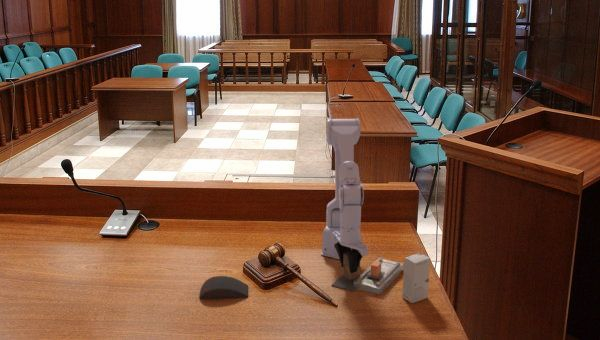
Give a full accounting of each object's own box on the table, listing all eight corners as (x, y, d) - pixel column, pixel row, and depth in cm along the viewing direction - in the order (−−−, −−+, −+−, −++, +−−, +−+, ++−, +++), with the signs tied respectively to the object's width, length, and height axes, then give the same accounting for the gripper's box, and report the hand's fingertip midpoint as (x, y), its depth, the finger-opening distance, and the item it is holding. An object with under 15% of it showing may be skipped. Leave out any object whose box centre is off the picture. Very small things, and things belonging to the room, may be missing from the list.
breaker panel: (353, 288, 175) (353, 279, 174) (378, 263, 190) (379, 255, 189) (379, 295, 171) (379, 286, 170) (403, 269, 186) (403, 261, 185)
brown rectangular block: (342, 275, 178) (343, 252, 176) (352, 272, 180) (353, 249, 178) (350, 279, 175) (350, 256, 173) (359, 277, 177) (360, 253, 175)
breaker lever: (366, 276, 177) (366, 264, 176) (372, 270, 180) (372, 259, 179) (379, 279, 175) (379, 268, 174) (384, 274, 178) (385, 262, 177)
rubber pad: (331, 285, 176) (331, 284, 176) (344, 274, 183) (344, 273, 183) (353, 291, 173) (353, 290, 173) (365, 280, 180) (365, 279, 179)
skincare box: (412, 303, 167) (415, 263, 163) (401, 297, 170) (403, 257, 167) (428, 297, 170) (431, 258, 166) (417, 291, 174) (420, 252, 170)
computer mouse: (200, 287, 176) (200, 275, 175) (248, 286, 177) (248, 273, 176) (198, 301, 168) (197, 288, 167) (248, 300, 169) (248, 287, 168)
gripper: (377, 231, 169) (375, 275, 173) (346, 214, 180) (345, 256, 184) (357, 236, 165) (356, 281, 169) (326, 219, 177) (326, 262, 181)
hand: (349, 269), depth 177 cm, fingers closed on brown rectangular block, 3 cm apart
